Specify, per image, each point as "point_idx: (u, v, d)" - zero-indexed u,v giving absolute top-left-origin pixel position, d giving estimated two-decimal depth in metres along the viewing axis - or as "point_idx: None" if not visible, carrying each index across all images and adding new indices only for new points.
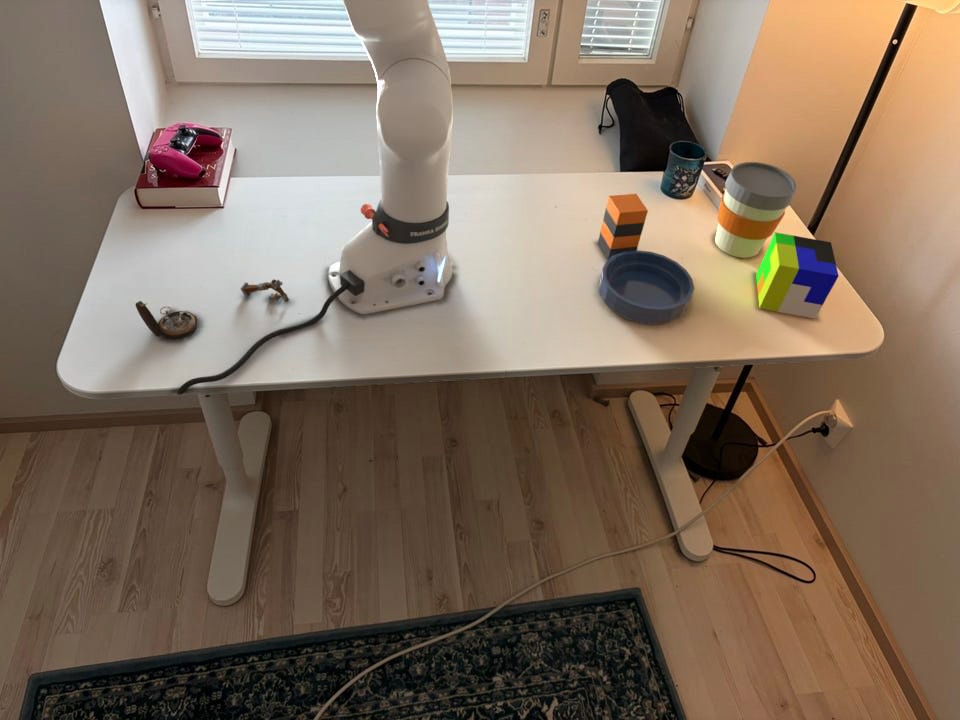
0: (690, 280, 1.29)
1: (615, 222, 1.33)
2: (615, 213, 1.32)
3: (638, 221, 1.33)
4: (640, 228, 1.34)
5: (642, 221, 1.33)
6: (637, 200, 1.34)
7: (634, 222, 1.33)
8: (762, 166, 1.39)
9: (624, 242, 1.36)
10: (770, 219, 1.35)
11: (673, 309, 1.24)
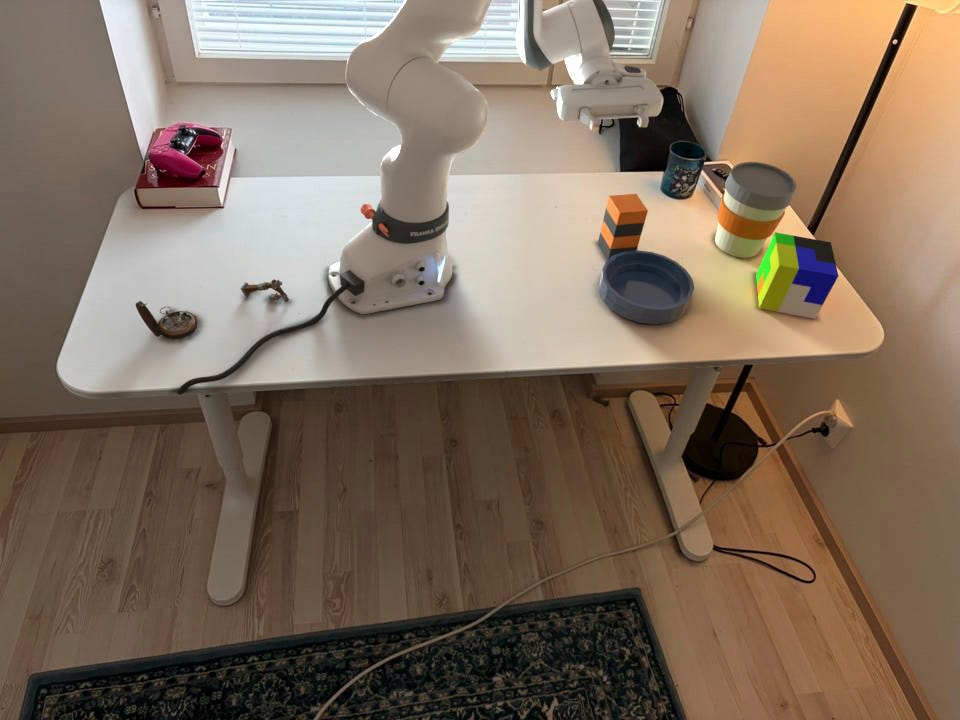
0: (690, 280, 1.29)
1: (615, 222, 1.33)
2: (615, 213, 1.32)
3: (638, 221, 1.33)
4: (640, 228, 1.34)
5: (642, 221, 1.33)
6: (637, 200, 1.34)
7: (634, 222, 1.33)
8: (762, 166, 1.39)
9: (624, 242, 1.36)
10: (770, 219, 1.35)
11: (673, 309, 1.24)
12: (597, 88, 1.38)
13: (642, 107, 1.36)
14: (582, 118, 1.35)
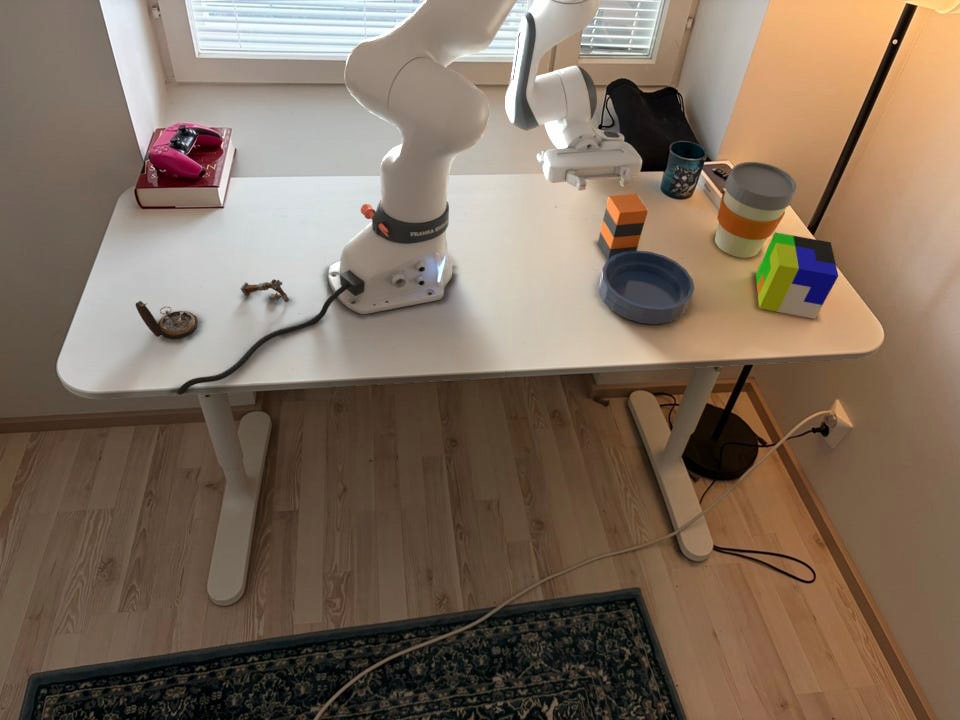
0: (690, 280, 1.29)
1: (615, 222, 1.33)
2: (615, 213, 1.32)
3: (638, 221, 1.33)
4: (640, 228, 1.34)
5: (642, 221, 1.33)
6: (637, 200, 1.34)
7: (634, 222, 1.33)
8: (762, 166, 1.39)
9: (624, 242, 1.36)
10: (770, 219, 1.35)
11: (673, 309, 1.24)
12: (580, 152, 1.47)
13: (623, 168, 1.45)
14: (569, 179, 1.43)
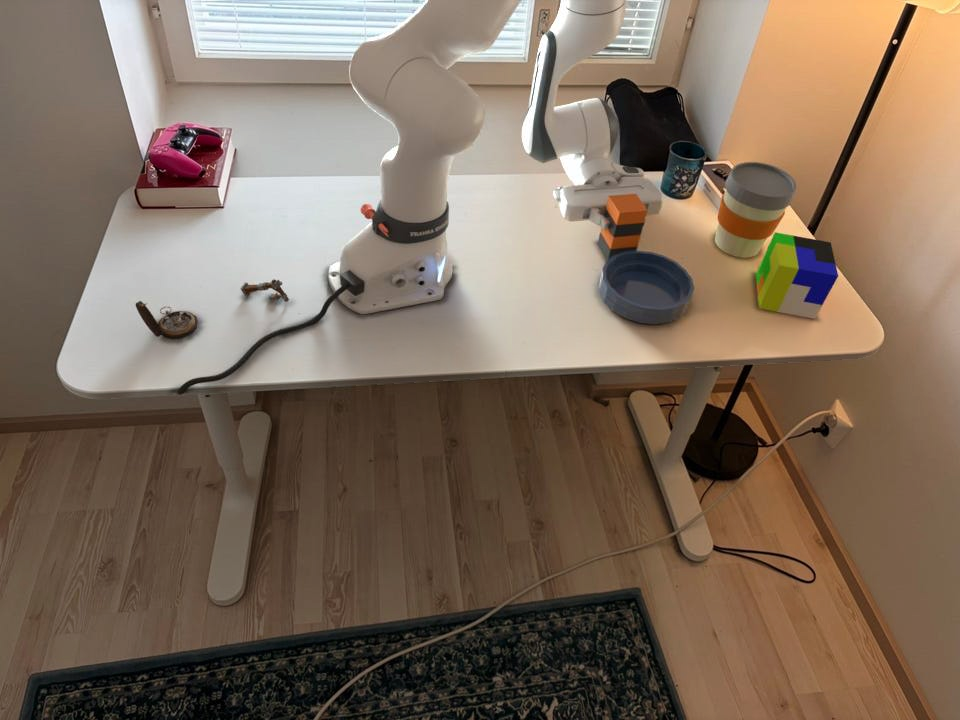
0: (690, 280, 1.29)
1: (615, 222, 1.33)
2: (615, 213, 1.32)
3: (638, 221, 1.33)
4: (640, 228, 1.34)
5: (642, 221, 1.33)
6: (637, 200, 1.34)
7: (634, 222, 1.33)
8: (762, 166, 1.39)
9: (624, 242, 1.36)
10: (770, 219, 1.35)
11: (673, 309, 1.24)
12: (598, 188, 1.41)
13: None
14: (593, 218, 1.37)
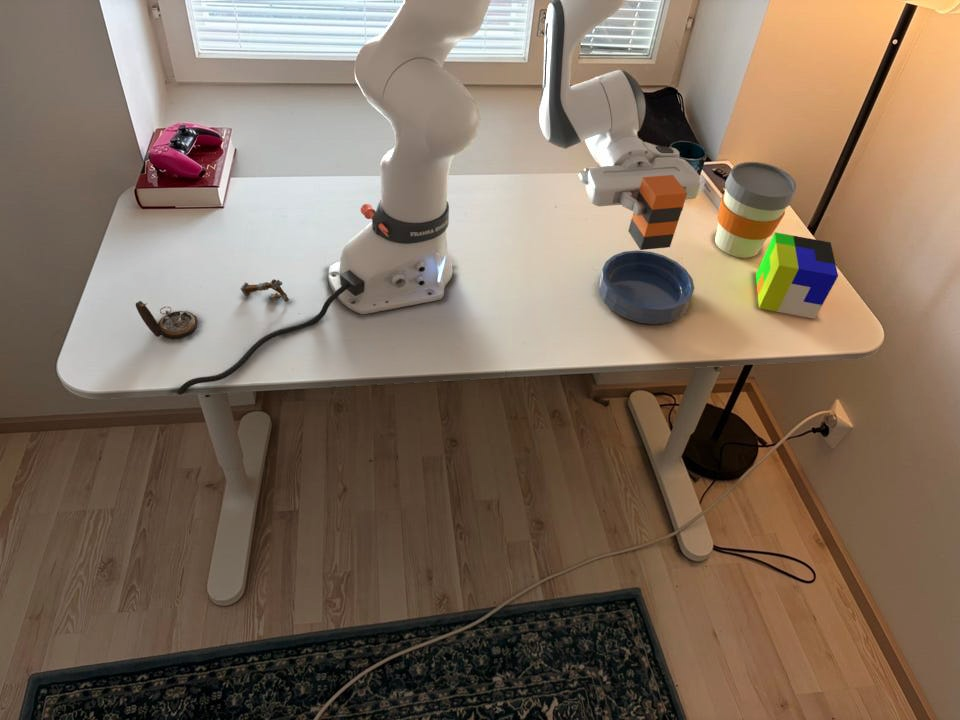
0: (690, 280, 1.29)
1: (650, 207, 1.19)
2: (650, 196, 1.18)
3: (676, 205, 1.19)
4: (678, 213, 1.20)
5: (680, 205, 1.19)
6: (674, 182, 1.20)
7: (671, 206, 1.19)
8: (762, 166, 1.39)
9: (659, 229, 1.22)
10: (770, 219, 1.35)
11: (673, 309, 1.24)
12: (630, 170, 1.26)
13: None
14: (624, 202, 1.22)
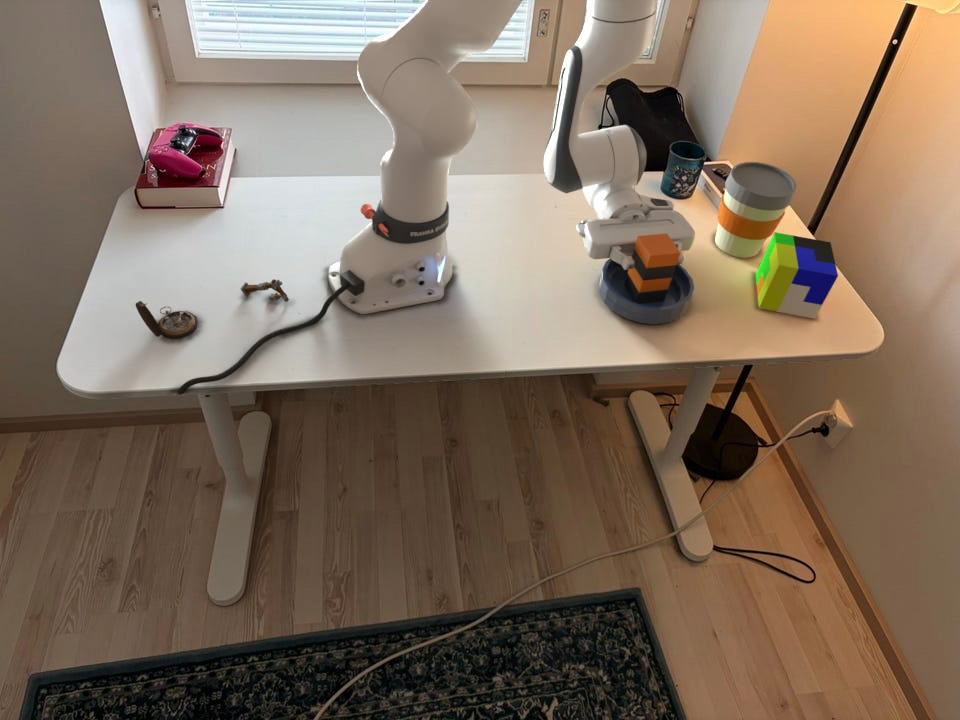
0: (690, 280, 1.29)
1: (645, 265, 1.24)
2: (645, 255, 1.23)
3: (669, 264, 1.24)
4: (671, 271, 1.25)
5: (674, 263, 1.24)
6: (668, 240, 1.24)
7: (665, 265, 1.24)
8: (762, 166, 1.39)
9: (653, 285, 1.26)
10: (770, 219, 1.35)
11: (673, 309, 1.24)
12: (625, 223, 1.31)
13: (675, 243, 1.28)
14: (614, 256, 1.26)
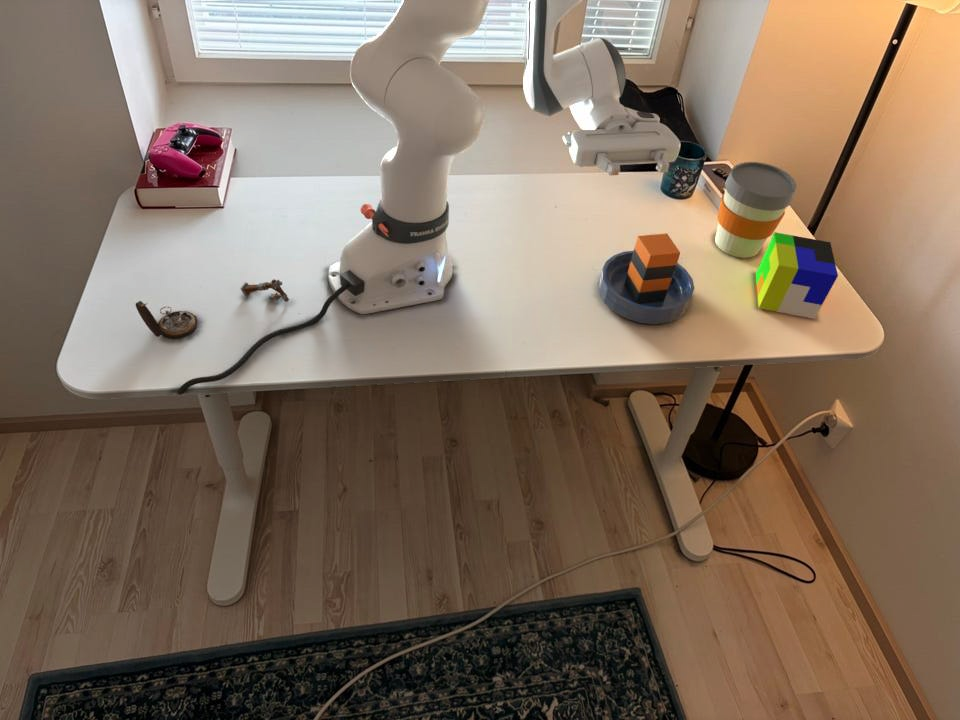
0: (690, 280, 1.29)
1: (645, 265, 1.24)
2: (645, 255, 1.23)
3: (669, 264, 1.24)
4: (671, 271, 1.25)
5: (674, 263, 1.24)
6: (668, 240, 1.24)
7: (665, 265, 1.24)
8: (762, 166, 1.39)
9: (653, 285, 1.26)
10: (770, 219, 1.35)
11: (673, 309, 1.24)
12: (611, 133, 1.31)
13: (660, 152, 1.29)
14: (599, 163, 1.27)
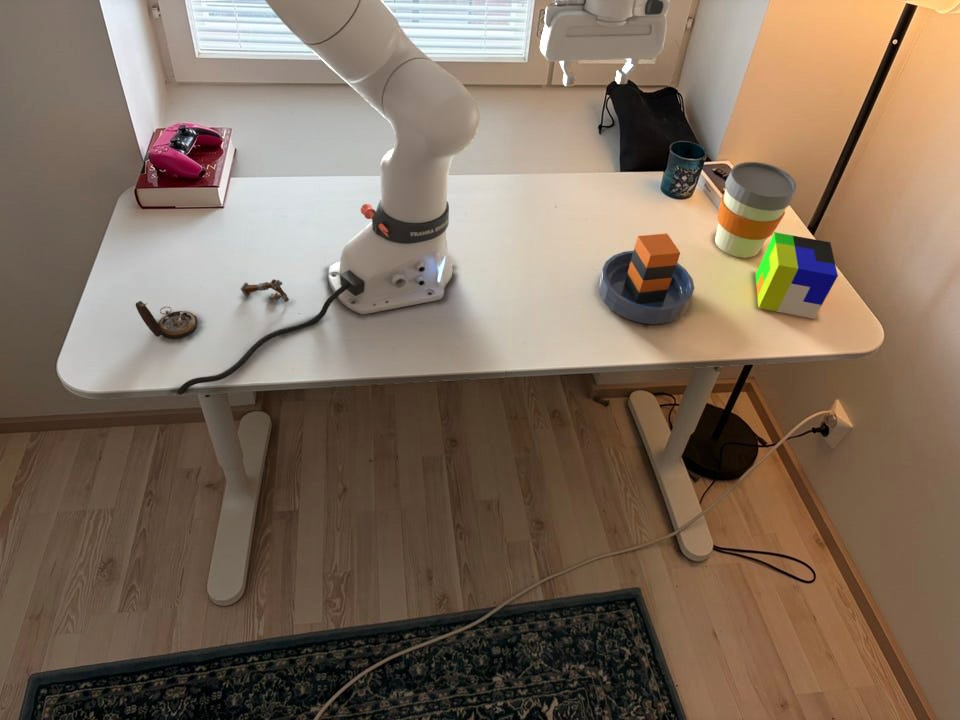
0: (690, 280, 1.29)
1: (645, 265, 1.24)
2: (645, 255, 1.23)
3: (669, 264, 1.24)
4: (671, 271, 1.25)
5: (674, 263, 1.24)
6: (668, 240, 1.24)
7: (665, 265, 1.24)
8: (762, 166, 1.39)
9: (653, 285, 1.26)
10: (770, 219, 1.35)
11: (673, 309, 1.24)
12: (599, 26, 1.12)
13: (631, 62, 1.18)
14: (561, 65, 1.17)
